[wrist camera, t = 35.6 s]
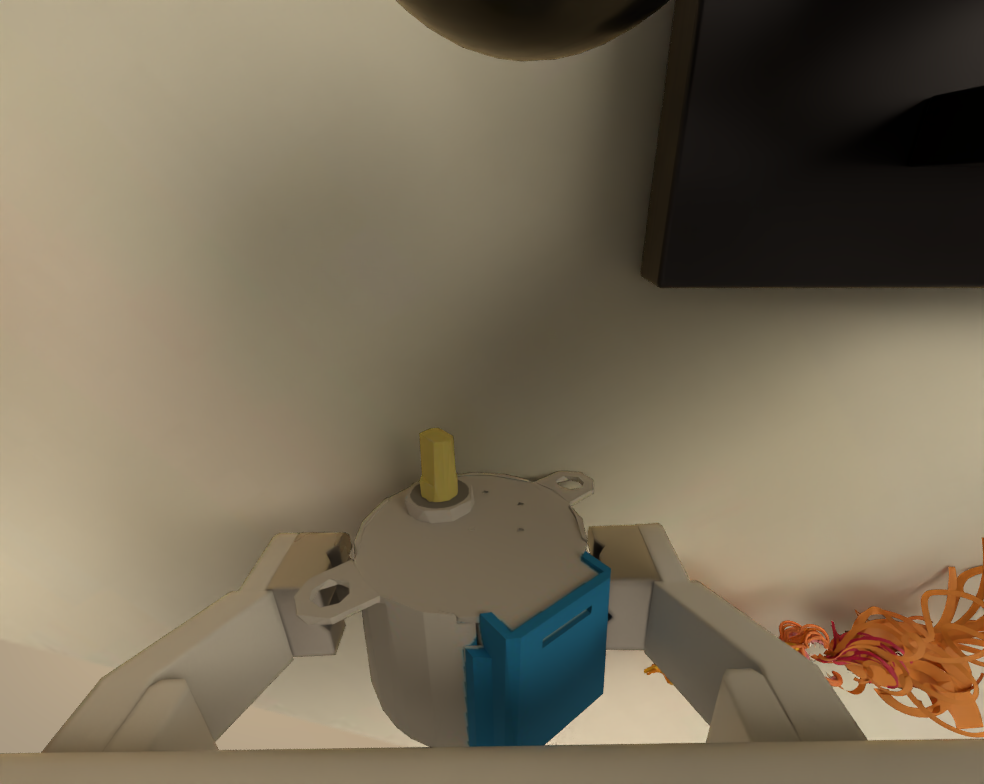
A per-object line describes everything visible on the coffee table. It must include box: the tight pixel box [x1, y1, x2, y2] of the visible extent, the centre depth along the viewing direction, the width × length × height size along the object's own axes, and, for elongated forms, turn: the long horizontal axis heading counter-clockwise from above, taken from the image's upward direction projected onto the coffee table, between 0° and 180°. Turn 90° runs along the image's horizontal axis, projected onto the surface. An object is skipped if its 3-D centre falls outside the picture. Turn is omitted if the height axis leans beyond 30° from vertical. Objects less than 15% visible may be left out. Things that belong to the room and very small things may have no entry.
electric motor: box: [294, 428, 611, 747], centre depth 9 cm, size 7×5×5 cm
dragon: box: [644, 538, 984, 737], centre depth 11 cm, size 4×11×4 cm, turn 93°
